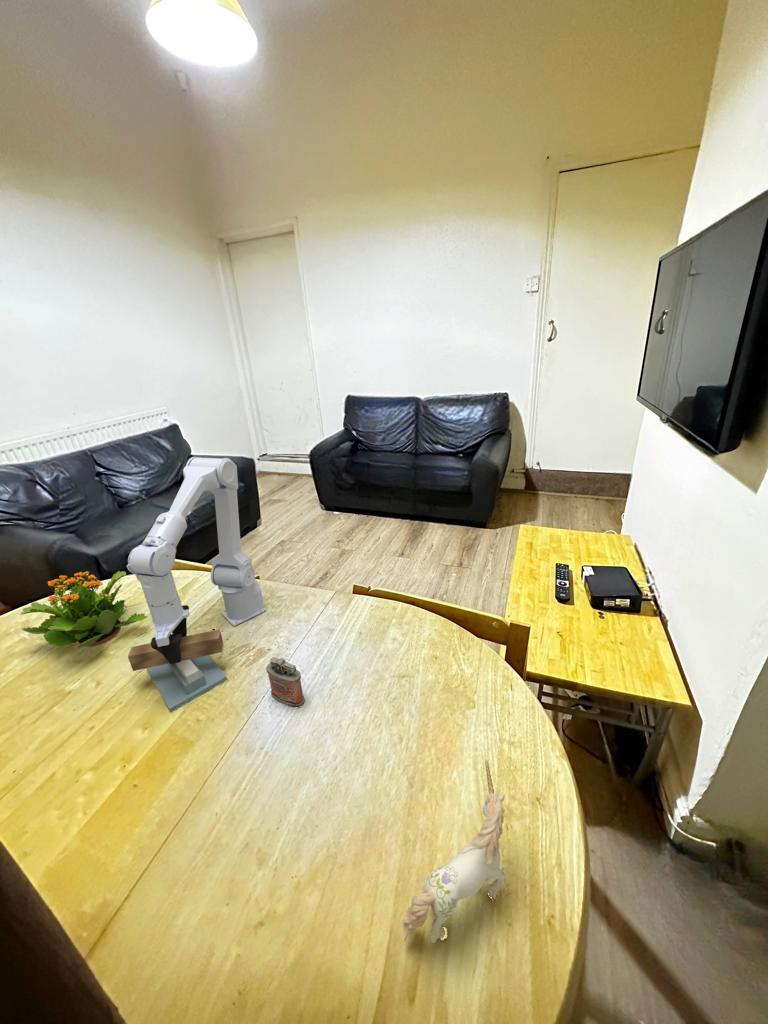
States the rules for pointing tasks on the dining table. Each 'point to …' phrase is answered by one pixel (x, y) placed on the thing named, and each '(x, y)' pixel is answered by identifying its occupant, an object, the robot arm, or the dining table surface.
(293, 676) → the lighter
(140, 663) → the walnut bar
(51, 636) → the potted flower
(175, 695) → the ridge stand
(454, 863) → the unicorn figurine
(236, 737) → the dining table surface
